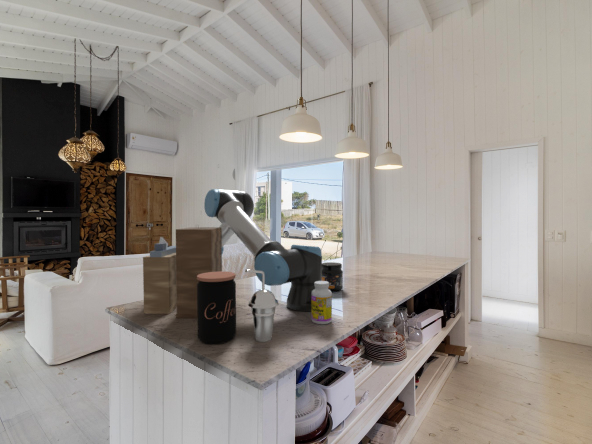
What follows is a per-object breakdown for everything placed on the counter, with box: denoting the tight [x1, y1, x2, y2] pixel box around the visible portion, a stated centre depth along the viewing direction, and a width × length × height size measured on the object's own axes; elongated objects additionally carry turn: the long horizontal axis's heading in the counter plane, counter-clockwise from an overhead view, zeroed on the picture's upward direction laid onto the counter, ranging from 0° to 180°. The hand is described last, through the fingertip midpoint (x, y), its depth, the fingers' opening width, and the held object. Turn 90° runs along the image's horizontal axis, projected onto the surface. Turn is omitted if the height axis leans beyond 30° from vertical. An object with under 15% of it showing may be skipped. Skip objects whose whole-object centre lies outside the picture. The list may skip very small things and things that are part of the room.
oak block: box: [142, 253, 177, 315], centre depth 120 cm, size 14×9×20 cm, turn 179°
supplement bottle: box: [310, 281, 333, 325], centre depth 105 cm, size 7×7×13 cm
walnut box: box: [175, 226, 223, 319], centre depth 116 cm, size 14×12×30 cm
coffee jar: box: [196, 271, 237, 345], centre depth 91 cm, size 11×11×18 cm
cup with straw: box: [244, 269, 279, 343], centre depth 91 cm, size 8×9×20 cm
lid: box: [149, 242, 176, 257], centre depth 123 cm, size 20×4×4 cm, turn 179°
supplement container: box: [322, 261, 344, 293], centre depth 149 cm, size 10×10×12 cm
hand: (171, 240), depth 127 cm, fingers open, 8 cm apart
